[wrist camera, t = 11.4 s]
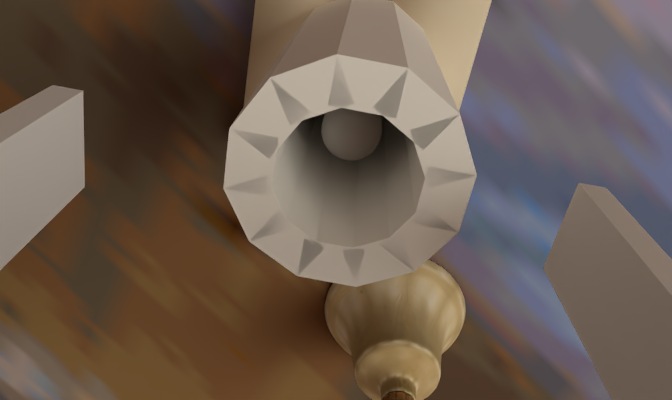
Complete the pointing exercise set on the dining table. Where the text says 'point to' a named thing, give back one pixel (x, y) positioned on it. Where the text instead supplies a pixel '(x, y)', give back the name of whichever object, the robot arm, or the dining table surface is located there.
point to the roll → (359, 175)
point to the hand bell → (397, 330)
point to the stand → (355, 126)
